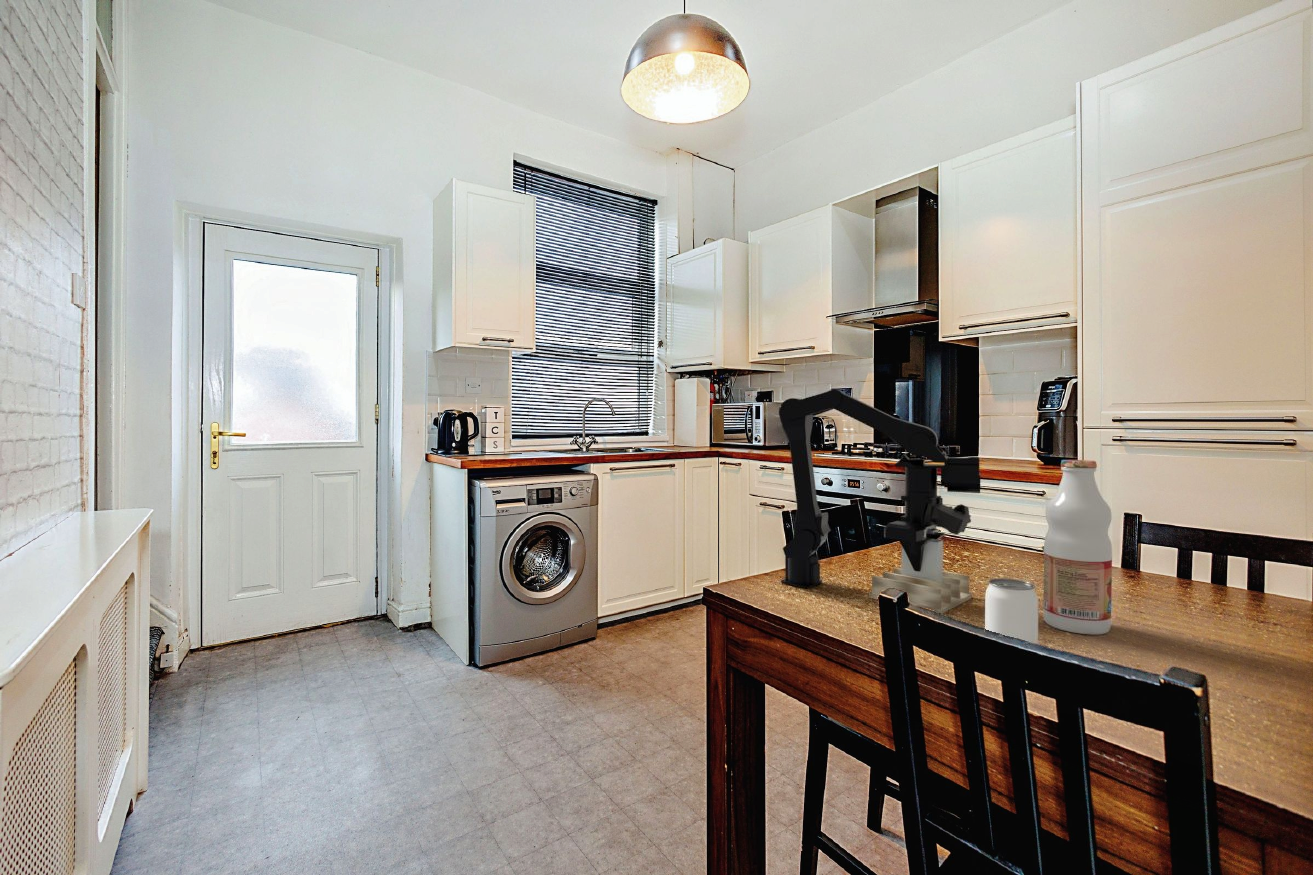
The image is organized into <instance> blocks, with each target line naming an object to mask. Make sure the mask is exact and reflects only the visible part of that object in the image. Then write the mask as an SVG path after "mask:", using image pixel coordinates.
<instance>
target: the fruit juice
mask: <svg viewBox="0 0 1313 875" xmlns="http://www.w3.org/2000/svg"><path fill="white" fill-rule="evenodd" d="M1097 467H1098V465H1097V461H1096V460H1086V459H1062V460H1061V462H1060V470H1061V471H1062V476H1061V477H1062V478H1061V480H1060V483H1059V484H1058V488H1057V490H1056V492H1055V494H1054V495H1053V496H1052V497H1051V498H1050V499H1049V501H1047V504H1046V507H1045V512H1044V513H1045V518H1046V522H1047V525H1048V529H1047V533H1046V534H1045V535H1044V543H1043V598H1042V599H1043V603H1042V604H1043V606H1042V607H1043V608H1042V610H1043V611H1042V612H1043V613H1042V614H1043V619H1044V621H1045V623H1046V624H1047V625H1049V626H1050V627H1052V628H1054V629H1058V630H1061V631H1065V632H1069V633H1074V634H1080V635H1093V636H1094V635H1095V636H1096V635H1104V634H1107V633H1109V632H1110V630H1111V625H1112V580H1113V573H1112V572H1113V546H1112V542H1111V541H1112V540H1111V538H1110V537H1109V528H1110V526H1111V523H1112V518H1113V516H1112V515H1113V514H1112V509H1111V507H1110V506H1109V504H1108V503H1107V502H1106V501H1105V499H1104V498H1103V496H1102V494H1101V493H1100V490H1099V488H1098V484H1097V482H1096V478H1095V472H1096V471H1097Z"/></svg>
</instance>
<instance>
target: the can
mask: <svg viewBox="0 0 1313 875" xmlns="http://www.w3.org/2000/svg"><path fill="white" fill-rule="evenodd" d="M988 583H989V584H988V586H987V588H986V590H985V597H984V602H985V603H984V605H985V606H984V630H985V629H986V630H989V631H992V632H996V633H1000V634H1002V635H1005V636H1010V637H1014V638H1019V639H1022V640H1025V641H1029V642H1033V643H1037V644H1038V645H1039V597H1038V595H1037V591H1035V587H1036V586H1035V584H1034V583H1031V582H1029V581H1025V580H1020V579H1015V578H1005V577H1004V578H1003V577H1002V578H1001V577H1000V578H999V577H998V578H997V577H996V578H992V579H989V580H988Z"/></svg>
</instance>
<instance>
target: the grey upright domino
mask: <svg viewBox="0 0 1313 875" xmlns="http://www.w3.org/2000/svg"><path fill="white" fill-rule="evenodd" d="M943 554H944V540H942V539H939V540H935V539H931V540H930V541H929V542H928V543H927V544H926V545H925V546H924V552H923V559H922V566H921V571H919V572H918V571H914V569H913V567H912V565H911V563H910V561H909V559H908V557H907V555H906V553H905V551H904V549H903V547H902V546H901V559H900V560H901V562H900V563H901V567H900V569H901V575H905V576H910V577H915V578H920V579H926V580H931V581H936V582H941V583H942V578H943V571H944V569H943V567H944V563H943V562H944V561H943V560H944V559H943V558H944V555H943Z"/></svg>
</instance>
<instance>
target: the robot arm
mask: <svg viewBox="0 0 1313 875" xmlns="http://www.w3.org/2000/svg"><path fill="white" fill-rule="evenodd" d="M832 410H835V411H837V412H839V413H841V414H843V415H845V416H847V417H850V418H852V419H854V420H856V421H858V422H860V423H861V424H864V425H866V426H867V427H869V428H872V429H874V430H876V431H878V432H880V433H882V434H884V435H885V436H887V437H888V438H889V439H890V440H892V441H893V442H894V443H896V444H897V445H898V446H900V447H901V448H902V449H903V450H905V451H906V452H908V453H909V454H910V455H912V456H915V457H920V458H909V457H908V456H907V455H906V454H903V455H902V456H901V457H900V459H899V460H898V461H897V462H896V463H895V464H894V467H895V468H904V469H905V471H904V472H905V476H904V477H905V478H904V479H905V480H904V483H905V484H904V485H905V486H904V488H905V489H904V490H905V491H904V494H903V495H900V501H902V502H904V515H902V516H900V520H896V521H893V522H888V523H887V524H886V525H885V526H884V527H883V537H884V538H886V539H891V540H898V542H899V543H900V545H901V548H902V547H903V549H904V551H905V553H906V555H907V557H908V559H909V561H910V563H911V565H912V567H913V569H914V571H918V572H919V571H921V566H922V559H923V552H924V546H925V545H926V544H927V543H928V542H929V541H930V540H931V539H935V540H941V538H943V537H944V536H946V533H945V532H939V528H942V529H944V530H946V531H948V532H949V533H950V534H953V535H959V534H960V533H964V532H965V531H966V529H967V527H968V524H970V523H971V522H972V519H971V516H972V515H970V509H969V506H966V505H965V504H962V503H961V504H958V505H956V506H955V507H953V506H948V505H945V504H943V501H944V500H943V499H944V498H943V497H942V496H941V495H938V469H940V486H941V487H944V488H946V492H948V493H962V494H963V493H966V494H967V493H968V494H981V472H980V457H978V456H969V457H957V456H955V457H953V456H952V457H950V456H948V455H947V452H946V451H944V450H943V449H942V447H941V446H940V445H939V437H938V435H937V432H936V431H935V430H934V429H932V428H931V427H929V426H926V425H923V424H922V425H921V424H919V423H915V422H912V421H907V420H904V419H901V418H898V417H894V416H892V415H890V414H889V413H886V412H883V411H882V410H879V409H878V408H876V407H873V406H871V405H869V404H867V403H865V402H863V401H861V400H859V399H857V398H856V397H855V398H854V397H853V396H851V395H849V394H847V393H846V392H844V391H842V390H841V389H836V388H831V389H828V390H826V391H825V392H821V393H819V394H818V393H817V394H815V395H810V396H808V397H805V398H797V397H796V398H795V397H794V398H791V397H790V398H788V399H785V400H784V401H783V402H782V403H781V405H779V408H778V416H779V420H780V423H781V426H782V430H783V431H784V434H785V435H786V438H787V440H788V442H789V449H790V450H789V451H790V459H791V468H792V475H793V483H794V490H795V491H794V492H795V501H796V512H795V516H794V517H795V518H794V522H793V538H792V539H791V540H790V541H789V542H788V543H787V544H786V545H785V546H783V548H782V551H783V554H784V556H785V557H784V558H785V559H784V561H785V562H784V563H785V567H784V572H785V573H784V574H785V577H784V578H783V579H781V580H780V584H781V583H782V584H785V585H790V586H793V587H798V588H801V589H809V588H812V587H815V586H818V585H821V584H823V580H822V579H821V574H820V573H821V564H820V563H819V555H818V554H815V553H816V552H817V551H818V550H819V547H821V546H822V545H823V544H824V543H825V542H826V540H827V538H828V535H829V534H828V533H829V532H831V530H832V529H831V528H830V526H829V523H828V522H829V513H828V511H827V512H822V511H821V509H820V507H819V505H818V498H817V489H816V482H815V471H814V464H813V455H812V448H811V435H812V429H813V423H814V422H813V421H814V420H813V418H814V416H818V415H821V414H824V413H827V412H830V411H832ZM921 457H925V458H926V459H928V460H930V461H931V462H933V463H935V464H932V463H926V460H925V458H921ZM937 463H938V464H937ZM939 463H940V464H939ZM941 463H943V464H941Z"/></svg>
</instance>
